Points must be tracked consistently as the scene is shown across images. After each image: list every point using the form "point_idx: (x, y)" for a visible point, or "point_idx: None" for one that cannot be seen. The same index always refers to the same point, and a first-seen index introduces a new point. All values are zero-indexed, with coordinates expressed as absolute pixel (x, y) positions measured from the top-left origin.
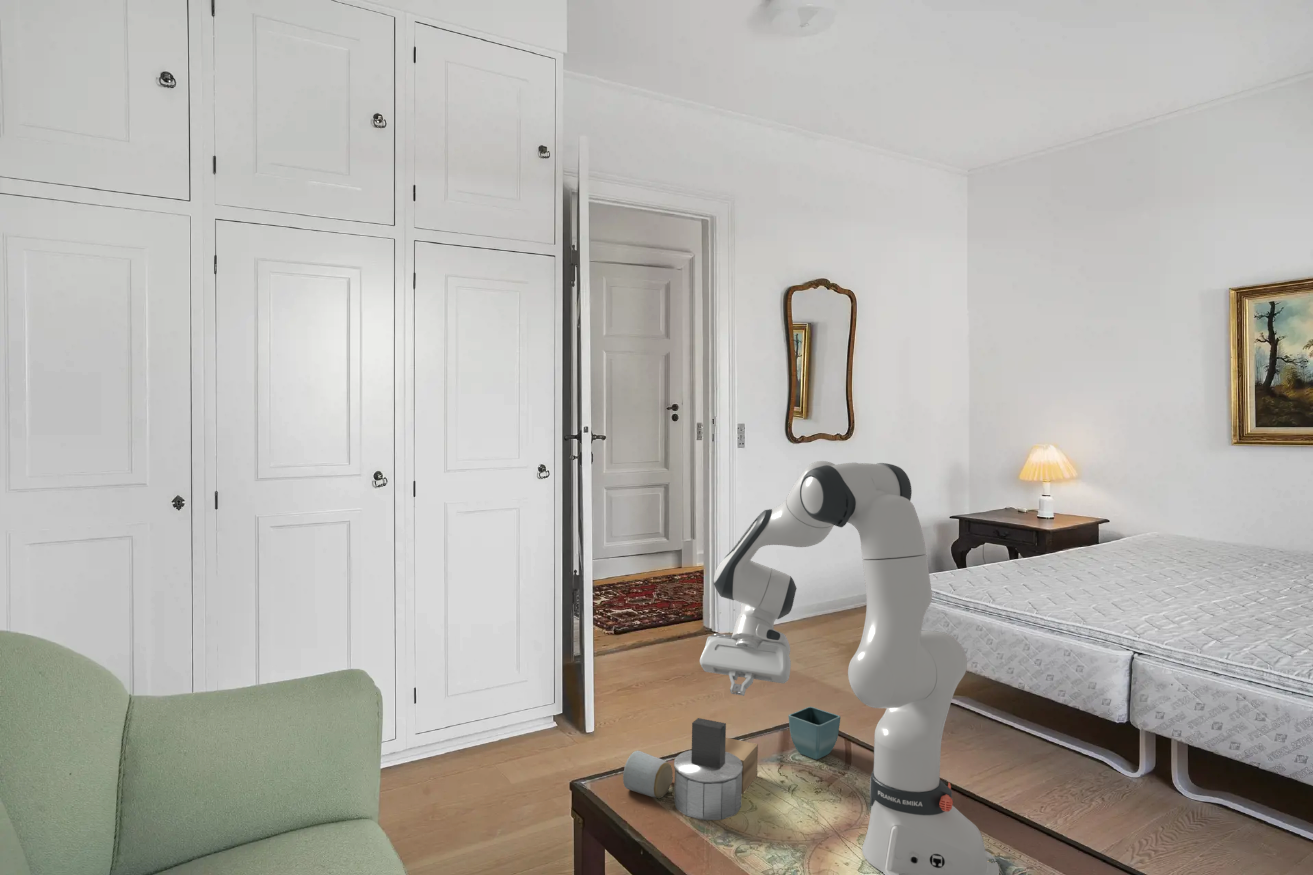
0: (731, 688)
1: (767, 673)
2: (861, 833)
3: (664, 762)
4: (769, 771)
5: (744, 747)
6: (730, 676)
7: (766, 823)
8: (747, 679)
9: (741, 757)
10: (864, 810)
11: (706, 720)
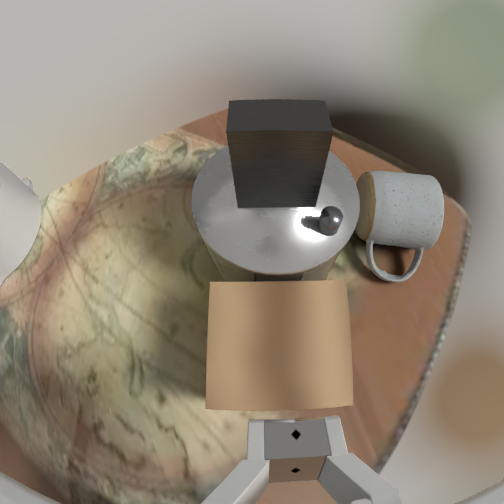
0: (331, 421)
1: (49, 500)
2: (36, 263)
3: (375, 190)
4: (201, 435)
5: (235, 367)
6: (378, 484)
7: (156, 224)
8: (226, 495)
9: (221, 298)
10: (29, 333)
11: (296, 125)
